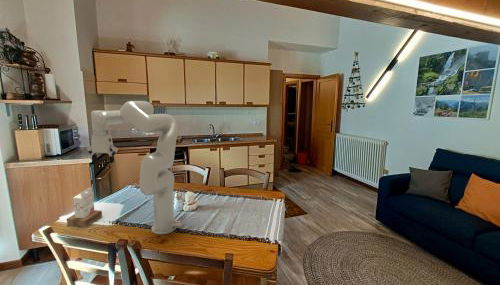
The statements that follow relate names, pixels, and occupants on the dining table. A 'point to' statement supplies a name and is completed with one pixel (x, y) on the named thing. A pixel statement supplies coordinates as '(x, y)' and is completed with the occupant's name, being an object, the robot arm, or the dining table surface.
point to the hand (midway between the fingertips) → (103, 162)
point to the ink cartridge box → (84, 203)
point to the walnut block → (84, 219)
